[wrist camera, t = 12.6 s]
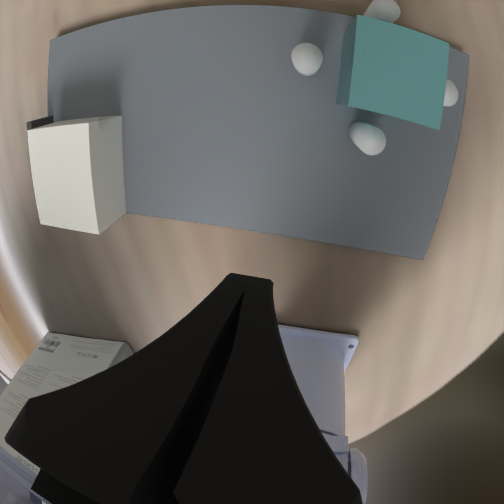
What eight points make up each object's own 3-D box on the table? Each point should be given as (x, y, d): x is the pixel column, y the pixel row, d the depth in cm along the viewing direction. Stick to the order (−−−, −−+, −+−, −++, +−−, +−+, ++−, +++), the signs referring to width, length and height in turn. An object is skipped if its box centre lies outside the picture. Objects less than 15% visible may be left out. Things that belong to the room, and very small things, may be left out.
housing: (126, 213, 20) (99, 234, 17) (68, 205, 21) (40, 223, 18) (122, 115, 16) (88, 122, 13) (60, 121, 17) (27, 130, 14)
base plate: (417, 260, 19) (434, 292, 15) (63, 206, 22) (34, 224, 18) (463, 48, 11) (494, 42, 8) (58, 33, 14) (23, 32, 11)
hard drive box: (74, 368, 36) (12, 468, 19) (47, 330, 33) (-29, 433, 15) (156, 384, 32) (93, 523, 15) (128, 339, 29) (38, 496, 12)
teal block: (404, 119, 14) (439, 130, 9) (335, 103, 14) (347, 106, 10) (412, 55, 12) (449, 43, 7) (342, 37, 12) (357, 14, 8)
